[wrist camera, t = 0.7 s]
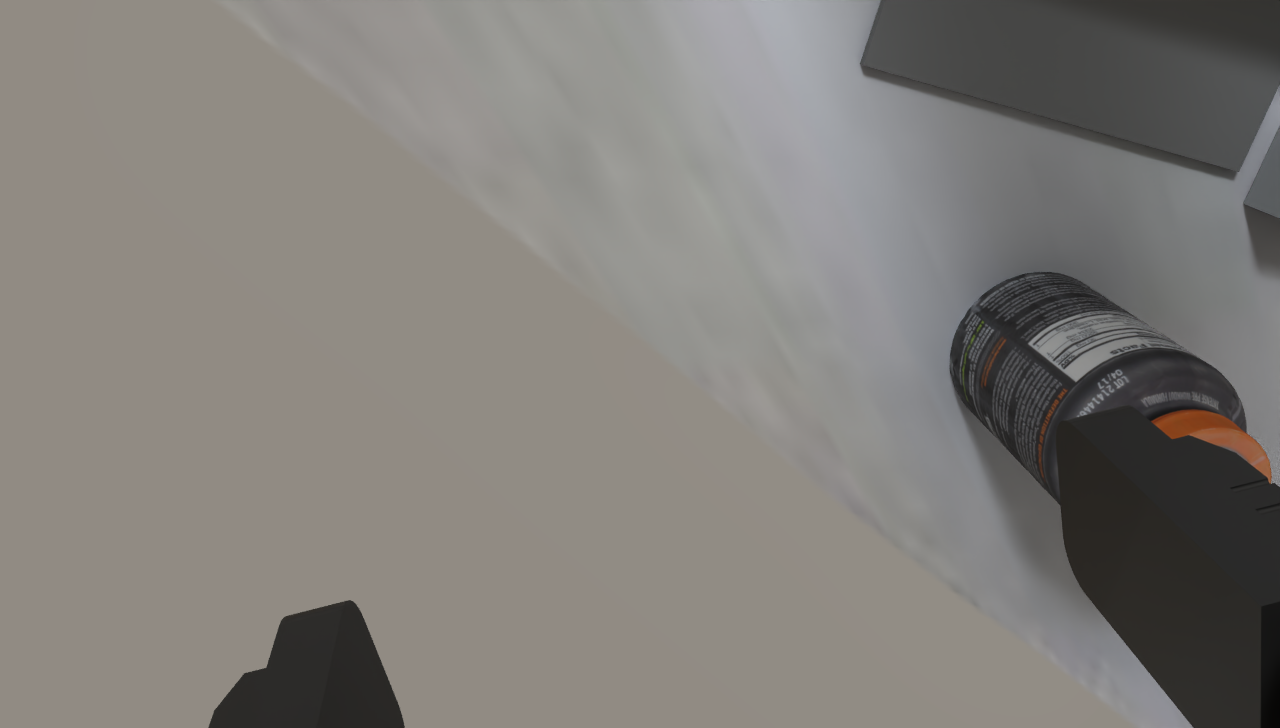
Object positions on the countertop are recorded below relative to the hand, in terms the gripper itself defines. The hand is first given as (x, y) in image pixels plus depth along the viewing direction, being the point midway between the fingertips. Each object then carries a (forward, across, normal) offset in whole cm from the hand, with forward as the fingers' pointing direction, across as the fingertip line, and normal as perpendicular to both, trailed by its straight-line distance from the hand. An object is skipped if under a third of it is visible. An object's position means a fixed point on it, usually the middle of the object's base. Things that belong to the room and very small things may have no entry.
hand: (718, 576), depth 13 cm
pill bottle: (+26, -14, +12) cm, 31 cm away
